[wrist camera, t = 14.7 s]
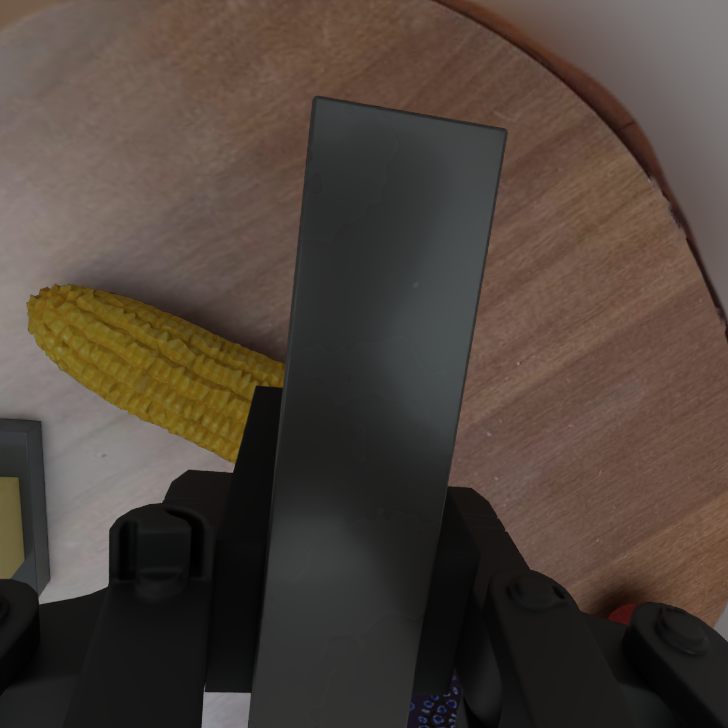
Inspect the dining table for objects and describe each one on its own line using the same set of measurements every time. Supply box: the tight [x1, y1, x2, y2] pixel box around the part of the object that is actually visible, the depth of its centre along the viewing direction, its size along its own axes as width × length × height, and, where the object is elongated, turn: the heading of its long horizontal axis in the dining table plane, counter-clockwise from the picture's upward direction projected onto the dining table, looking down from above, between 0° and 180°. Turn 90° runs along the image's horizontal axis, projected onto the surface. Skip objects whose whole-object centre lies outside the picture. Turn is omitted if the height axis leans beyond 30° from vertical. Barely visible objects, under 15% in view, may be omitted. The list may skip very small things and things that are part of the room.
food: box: [26, 284, 285, 463], centre depth 26 cm, size 21×6×6 cm, turn 63°
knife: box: [248, 96, 508, 728], centre depth 12 cm, size 23×2×7 cm, turn 172°
